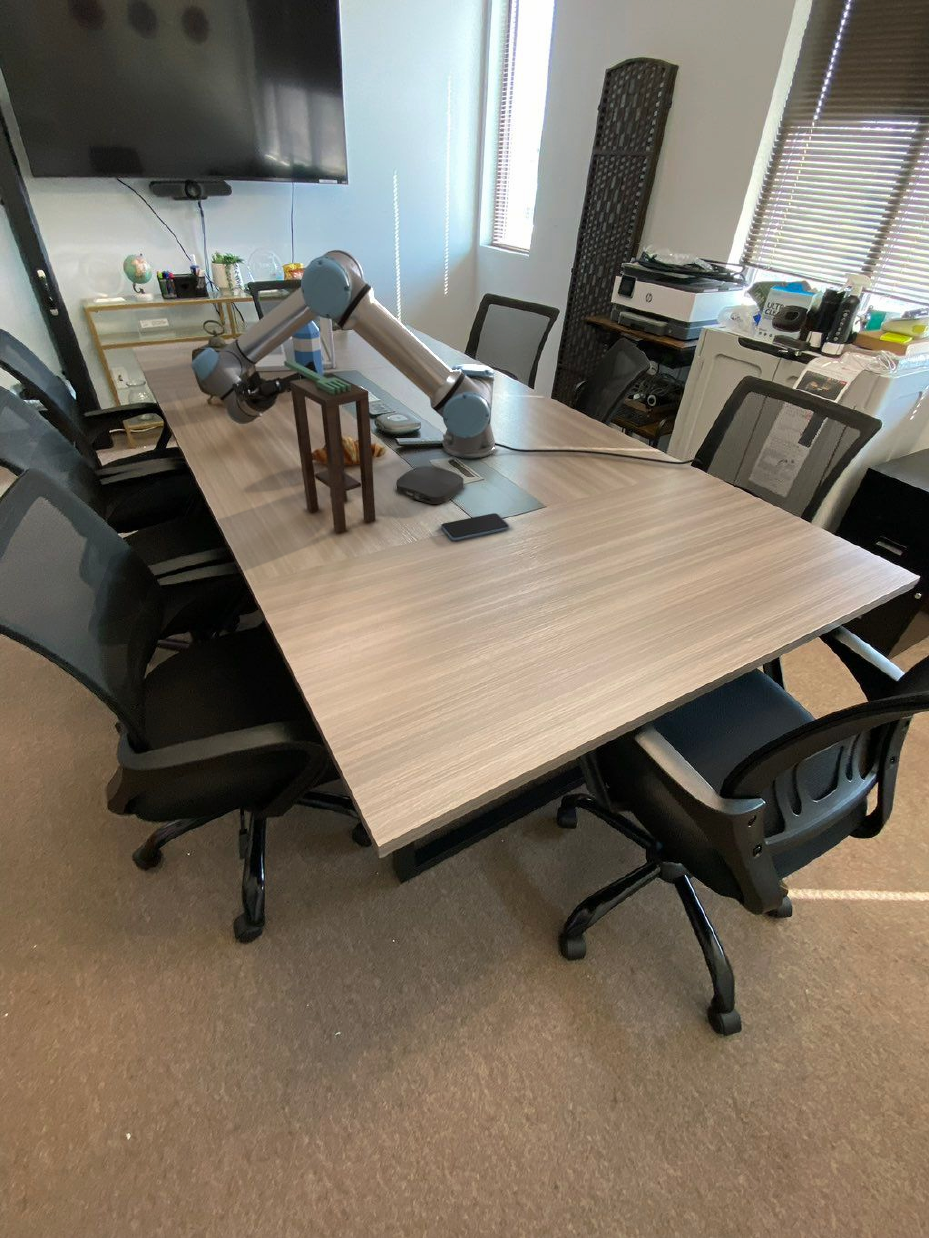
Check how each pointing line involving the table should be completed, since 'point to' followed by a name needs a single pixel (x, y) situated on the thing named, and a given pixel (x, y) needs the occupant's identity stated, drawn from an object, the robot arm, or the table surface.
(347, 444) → the croissant
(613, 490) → the table surface
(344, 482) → the plant stand
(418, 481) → the media streaming box
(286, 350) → the laptop
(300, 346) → the water bottle
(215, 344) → the tabletop clock
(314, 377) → the fork
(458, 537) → the smartphone
